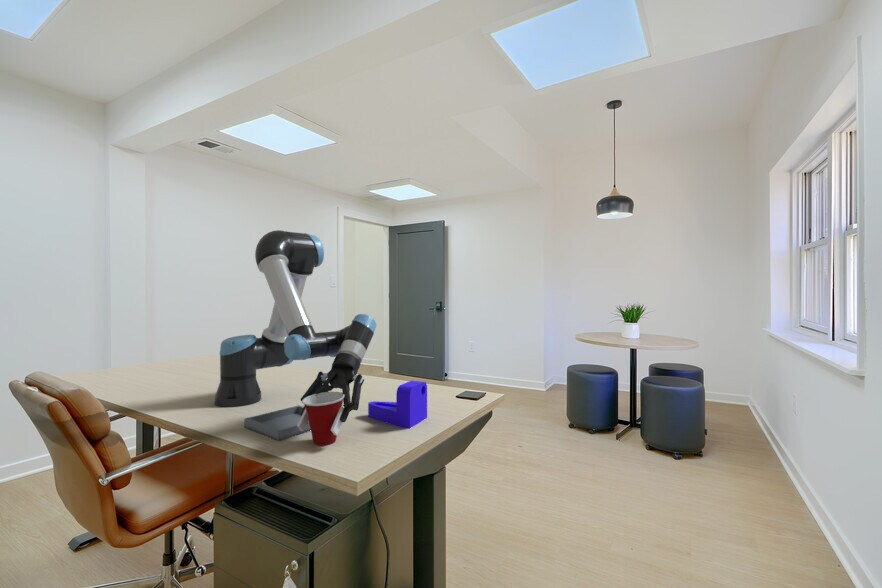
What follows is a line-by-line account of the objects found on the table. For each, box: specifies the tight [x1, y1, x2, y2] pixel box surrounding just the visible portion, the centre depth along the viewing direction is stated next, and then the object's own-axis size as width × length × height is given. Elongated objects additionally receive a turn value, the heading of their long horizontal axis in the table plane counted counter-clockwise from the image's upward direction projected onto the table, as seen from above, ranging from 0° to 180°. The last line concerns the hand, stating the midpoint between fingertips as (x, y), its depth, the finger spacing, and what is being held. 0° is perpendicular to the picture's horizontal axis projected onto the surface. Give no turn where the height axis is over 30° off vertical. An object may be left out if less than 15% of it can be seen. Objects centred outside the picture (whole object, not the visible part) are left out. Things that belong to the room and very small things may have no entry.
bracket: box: [367, 380, 428, 429], centre depth 127 cm, size 18×11×12 cm, turn 65°
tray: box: [243, 404, 311, 442], centre depth 121 cm, size 18×18×2 cm
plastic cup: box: [301, 391, 345, 446], centre depth 107 cm, size 11×11×12 cm
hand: (316, 430), depth 104 cm, fingers closed on plastic cup, 9 cm apart
